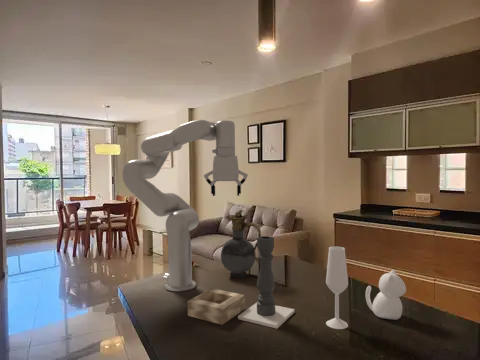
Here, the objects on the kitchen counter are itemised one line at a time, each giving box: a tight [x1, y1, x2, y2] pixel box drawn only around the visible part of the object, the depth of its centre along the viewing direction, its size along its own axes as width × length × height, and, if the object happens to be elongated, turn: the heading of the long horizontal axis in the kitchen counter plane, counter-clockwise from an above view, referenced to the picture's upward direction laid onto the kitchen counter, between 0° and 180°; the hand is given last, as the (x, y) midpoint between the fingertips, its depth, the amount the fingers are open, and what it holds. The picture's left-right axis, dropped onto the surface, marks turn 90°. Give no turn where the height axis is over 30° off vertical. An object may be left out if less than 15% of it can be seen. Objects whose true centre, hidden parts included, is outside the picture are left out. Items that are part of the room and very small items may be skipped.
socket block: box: [187, 288, 246, 326], centre depth 119 cm, size 14×14×5 cm
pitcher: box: [220, 209, 262, 279], centre depth 159 cm, size 11×19×30 cm, turn 63°
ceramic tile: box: [237, 302, 295, 329], centre depth 116 cm, size 14×14×1 cm
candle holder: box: [256, 235, 276, 316], centre depth 116 cm, size 6×6×25 cm
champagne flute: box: [325, 245, 349, 330], centre depth 109 cm, size 7×7×24 cm
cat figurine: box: [364, 269, 407, 321], centre depth 115 cm, size 9×12×15 cm
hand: (226, 195), depth 138 cm, fingers open, 9 cm apart
